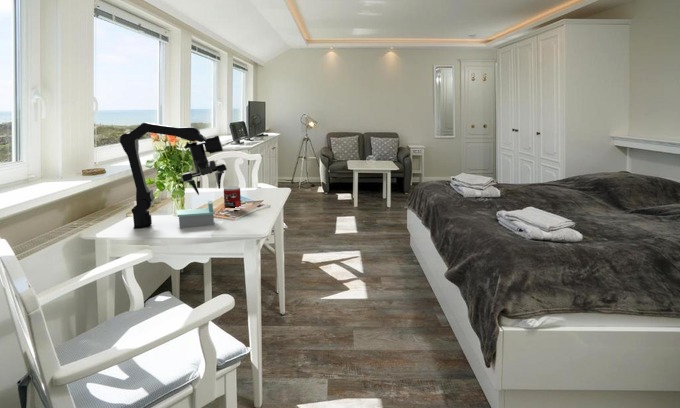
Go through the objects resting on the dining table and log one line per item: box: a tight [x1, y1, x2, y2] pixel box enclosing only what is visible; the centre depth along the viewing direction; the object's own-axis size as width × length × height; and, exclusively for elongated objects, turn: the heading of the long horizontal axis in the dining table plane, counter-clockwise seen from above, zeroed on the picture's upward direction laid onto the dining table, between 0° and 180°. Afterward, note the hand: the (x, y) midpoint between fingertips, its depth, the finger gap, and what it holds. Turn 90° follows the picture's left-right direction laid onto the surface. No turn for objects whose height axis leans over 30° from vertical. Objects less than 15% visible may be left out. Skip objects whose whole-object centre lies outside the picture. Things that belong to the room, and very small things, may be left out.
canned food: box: [223, 186, 242, 209], centre depth 232 cm, size 8×8×11 cm
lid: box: [176, 200, 216, 218], centre depth 204 cm, size 15×10×5 cm, turn 108°
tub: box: [178, 214, 215, 229], centre depth 205 cm, size 14×9×5 cm, turn 108°
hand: (209, 191), depth 205 cm, fingers open, 9 cm apart
